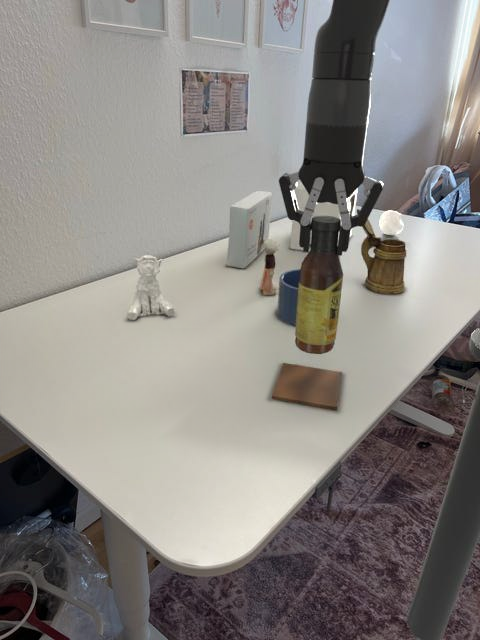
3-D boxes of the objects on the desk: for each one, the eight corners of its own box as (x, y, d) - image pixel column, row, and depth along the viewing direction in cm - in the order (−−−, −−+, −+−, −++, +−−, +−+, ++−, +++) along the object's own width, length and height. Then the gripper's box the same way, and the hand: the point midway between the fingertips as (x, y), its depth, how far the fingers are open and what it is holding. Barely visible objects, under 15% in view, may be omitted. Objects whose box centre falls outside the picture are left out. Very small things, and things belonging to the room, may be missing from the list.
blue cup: (336, 306, 105) (340, 272, 101) (331, 331, 94) (335, 294, 91) (282, 299, 107) (285, 266, 104) (272, 323, 97) (274, 286, 93)
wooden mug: (350, 274, 122) (359, 204, 113) (405, 283, 117) (419, 210, 109) (343, 287, 114) (353, 213, 106) (402, 297, 110) (417, 220, 102)
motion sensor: (401, 239, 149) (406, 215, 146) (376, 236, 151) (380, 212, 148) (401, 232, 156) (405, 208, 153) (377, 230, 158) (381, 206, 155)
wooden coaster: (341, 374, 81) (341, 371, 80) (336, 410, 72) (337, 407, 72) (283, 365, 83) (283, 362, 83) (271, 398, 74) (271, 395, 74)
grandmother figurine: (256, 286, 114) (258, 234, 108) (271, 285, 114) (274, 233, 109) (264, 299, 107) (266, 245, 101) (280, 298, 108) (284, 244, 102)
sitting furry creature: (127, 321, 96) (122, 265, 91) (125, 303, 103) (120, 250, 98) (174, 317, 98) (172, 261, 93) (168, 299, 106) (166, 247, 100)
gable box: (311, 229, 157) (320, 139, 144) (351, 235, 152) (364, 142, 139) (289, 249, 138) (297, 147, 126) (334, 256, 134) (347, 151, 121)
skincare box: (246, 269, 123) (248, 208, 116) (226, 266, 125) (227, 206, 117) (270, 246, 141) (273, 191, 134) (252, 243, 142) (254, 189, 135)
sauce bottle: (334, 358, 71) (350, 227, 62) (292, 354, 72) (302, 224, 63) (334, 337, 76) (349, 214, 67) (295, 333, 77) (305, 211, 68)
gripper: (274, 120, 58) (268, 255, 65) (397, 125, 54) (374, 266, 62) (285, 115, 64) (278, 239, 72) (395, 120, 61) (375, 249, 69)
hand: (323, 251), depth 67 cm, fingers closed on sauce bottle, 4 cm apart
